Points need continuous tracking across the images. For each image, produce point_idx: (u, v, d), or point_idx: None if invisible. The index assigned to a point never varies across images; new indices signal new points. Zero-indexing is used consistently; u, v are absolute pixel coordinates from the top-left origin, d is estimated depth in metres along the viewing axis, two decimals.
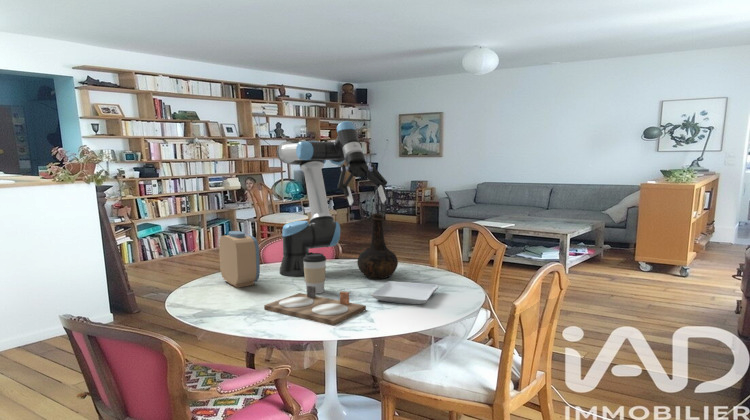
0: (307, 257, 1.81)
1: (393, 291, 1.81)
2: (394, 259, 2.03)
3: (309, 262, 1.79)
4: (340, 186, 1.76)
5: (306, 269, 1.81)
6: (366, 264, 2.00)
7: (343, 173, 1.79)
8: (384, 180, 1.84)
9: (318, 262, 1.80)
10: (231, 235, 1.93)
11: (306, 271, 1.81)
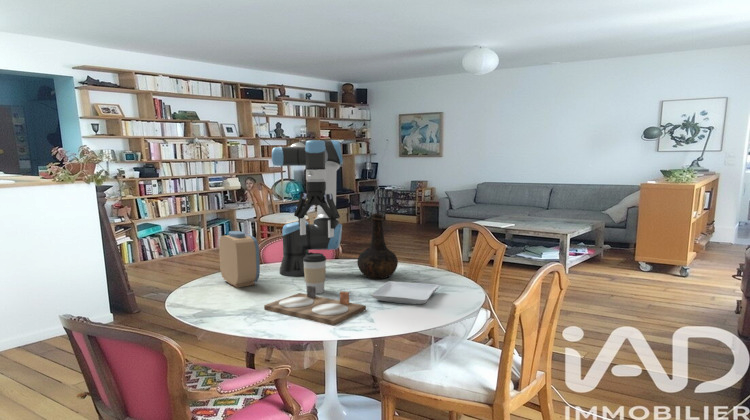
0: (307, 257, 1.81)
1: (393, 291, 1.81)
2: (394, 259, 2.03)
3: (309, 262, 1.79)
4: None
5: (306, 269, 1.81)
6: (366, 264, 2.00)
7: (299, 203, 1.84)
8: (334, 214, 1.76)
9: (318, 262, 1.80)
10: (231, 235, 1.93)
11: (306, 271, 1.81)
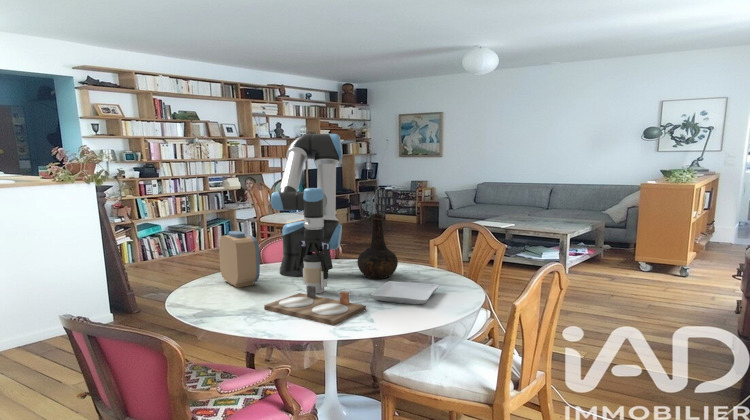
0: (307, 257, 1.81)
1: (393, 291, 1.81)
2: (394, 259, 2.03)
3: (309, 261, 1.79)
4: None
5: (306, 269, 1.81)
6: (366, 264, 2.00)
7: (300, 251, 1.86)
8: (327, 266, 1.79)
9: (318, 262, 1.80)
10: (231, 235, 1.93)
11: (306, 271, 1.81)
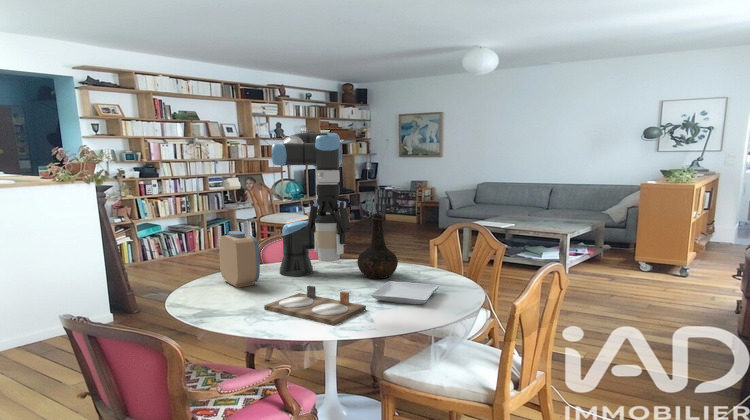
0: (320, 218, 1.51)
1: (393, 291, 1.82)
2: (394, 259, 2.03)
3: (322, 223, 1.50)
4: None
5: (319, 232, 1.51)
6: (366, 264, 2.00)
7: (311, 212, 1.56)
8: (344, 228, 1.49)
9: (333, 223, 1.50)
10: (231, 235, 1.93)
11: (318, 234, 1.51)
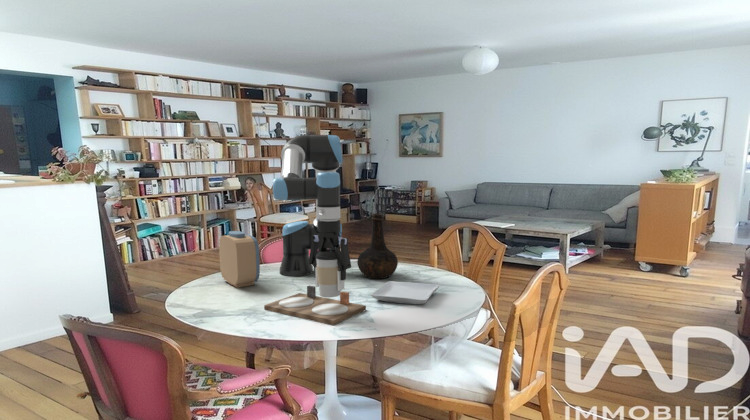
0: (321, 254, 1.52)
1: (393, 291, 1.82)
2: (394, 259, 2.03)
3: (323, 259, 1.51)
4: None
5: (320, 268, 1.52)
6: (366, 264, 2.00)
7: (312, 247, 1.57)
8: (344, 264, 1.50)
9: (334, 260, 1.51)
10: (231, 235, 1.93)
11: (320, 270, 1.52)
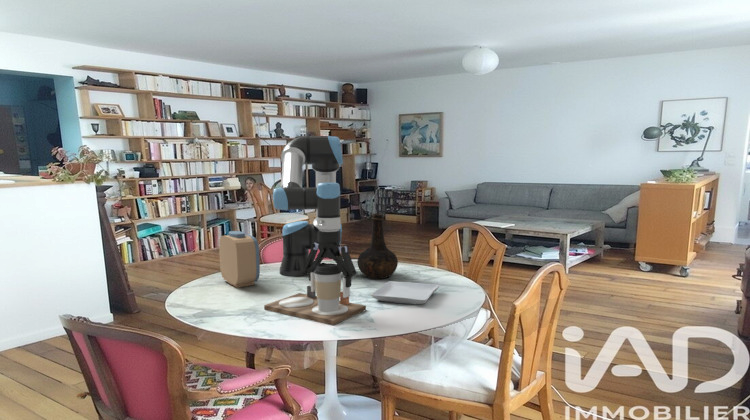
0: (319, 269, 1.53)
1: (393, 291, 1.82)
2: (394, 259, 2.03)
3: (321, 274, 1.51)
4: None
5: (318, 283, 1.53)
6: (366, 264, 2.00)
7: (310, 254, 1.58)
8: (349, 271, 1.49)
9: (332, 275, 1.52)
10: (231, 235, 1.93)
11: (318, 285, 1.53)
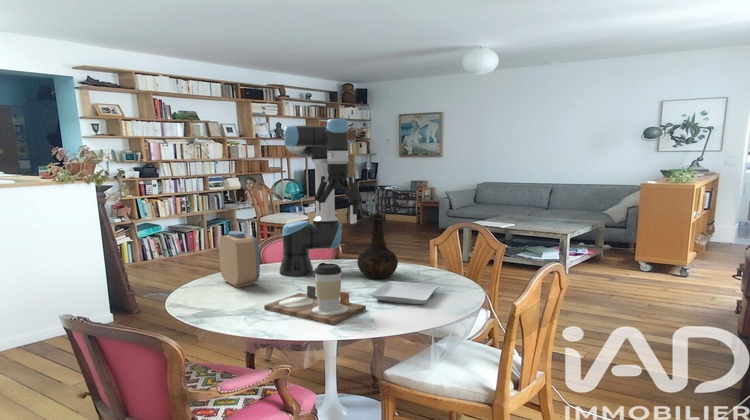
0: (319, 269, 1.53)
1: (393, 291, 1.82)
2: (394, 259, 2.03)
3: (321, 274, 1.51)
4: None
5: (318, 283, 1.53)
6: (366, 264, 2.00)
7: (320, 186, 1.73)
8: (356, 199, 1.64)
9: (333, 275, 1.52)
10: (231, 235, 1.93)
11: (318, 285, 1.53)
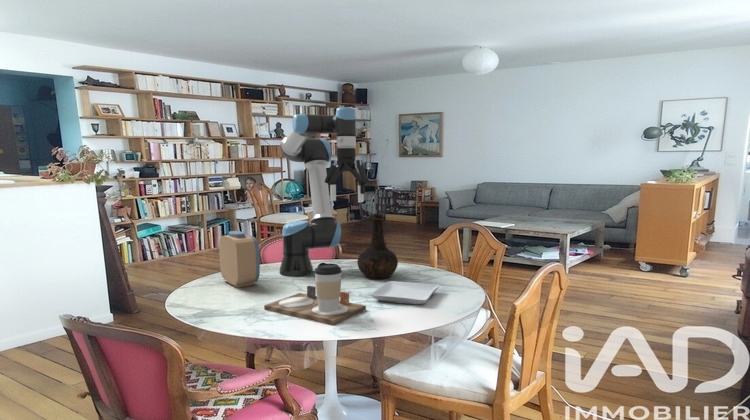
0: (319, 269, 1.53)
1: (393, 291, 1.82)
2: (394, 259, 2.03)
3: (321, 274, 1.51)
4: None
5: (318, 283, 1.53)
6: (366, 264, 2.00)
7: (330, 169, 1.89)
8: (363, 180, 1.81)
9: (333, 275, 1.52)
10: (231, 235, 1.93)
11: (318, 285, 1.53)
